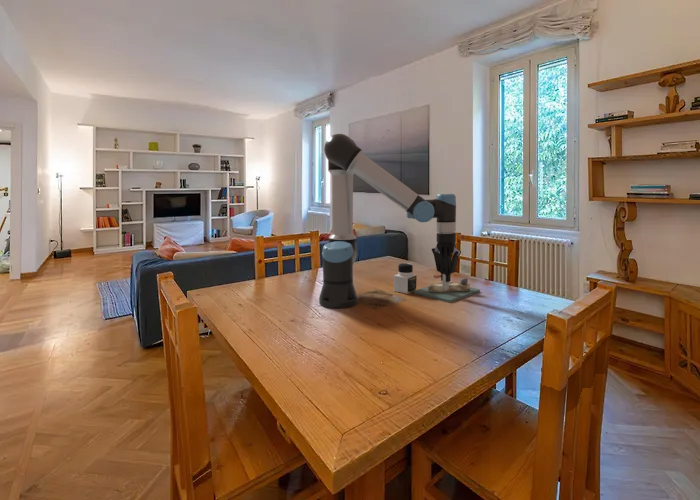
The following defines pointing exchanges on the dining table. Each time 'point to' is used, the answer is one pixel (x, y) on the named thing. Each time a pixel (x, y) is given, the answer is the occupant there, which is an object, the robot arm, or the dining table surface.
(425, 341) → the dining table surface
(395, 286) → the medicine bottle
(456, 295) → the pintle board
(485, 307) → the dining table surface
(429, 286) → the beige lumpy bar
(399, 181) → the robot arm
